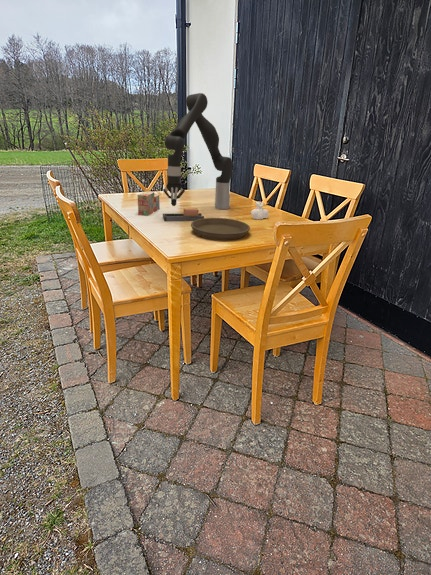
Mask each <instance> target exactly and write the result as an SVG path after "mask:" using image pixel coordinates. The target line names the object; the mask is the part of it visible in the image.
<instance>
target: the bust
mask: <svg viewBox="0 0 431 575" xmlns="http://www.w3.org/2000/svg"><path fill="white" fill-rule="evenodd" d="M254 205H255V208H254V209H252V210H251V211H250V214H251V217H252V219H254V220H258V219H259V220H264V219H263V218H266V219H268V217H269V214H270V213H269V209H267V208H263V206H264V205H265V203H264V202H262V201H260V200H259V201H256V202H255V203H254Z"/></svg>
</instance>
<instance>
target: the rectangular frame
mask: <svg viewBox="0 0 431 575" xmlns="http://www.w3.org/2000/svg"><path fill="white" fill-rule="evenodd" d="M204 218H205V216H204V215H202V213H200V212H198V216H184V212H182V213H179V212H178V213H173V212H172V213H162V220H163V221H164V222H193V221H195V220H198V219H204Z"/></svg>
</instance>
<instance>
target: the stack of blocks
mask: <svg viewBox="0 0 431 575" xmlns="http://www.w3.org/2000/svg"><path fill="white" fill-rule="evenodd" d="M160 201H161V200H160V194H155V192H154V191H144V192H141V193H139V194H137V215H138V216H146V217H147V216H150V215H152V214H154V213H155V212H157V211H159V210H160ZM153 212H154V213H153Z"/></svg>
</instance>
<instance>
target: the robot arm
mask: <svg viewBox="0 0 431 575" xmlns="http://www.w3.org/2000/svg"><path fill="white" fill-rule="evenodd" d="M208 101H209V100H208V97H207V96H206V95H205V93H202V92H198V93H193V94H192V93H191V94H189V95H187V96H186V98H185V105H186V107H187V110H188V112H187V113H186V114H185V115H183V117H182V118H181V119H179V121H178V122H177V124H176V126H175V128H174V129H172V130H171V132H169V133H168V135H166V137H165V139H164V147H165V149H168V150H172V151H174V152H173V153H172V154H168V156H167V170H166V172H167V173H166V174H167V175H166V176H167V178H166V180H167V181H166V186H165V187H164V188H163V189H162V191H163V193H164V194H165V195H166V197H167V198H168V199H170V205H171V206H172V207H175V206H177V200H179V199H180V198H181V197H182V196H183V194H185V191H186V190H185V189H184V188H182V185H181V184H182V183H181V182H182V181H181V180H182V178H181V177H182V169H181V159H182V155H183V151H184V147H185V141H184V139H185V138H186V137H187V135H188V133H189V131H190V130H191V129H192V127H193V125H194V124H196V126H197V128H198V130H199V132H200V133H201V137H202V139H203V141H204V143H205V145H206V148H207V150H208V152H209V154H210V158H211V160H212V163H213V167H214V168H215V170H217V171H218V172H221V174H220V175H219V176H217V177H216V178H215V199H214V201H215V202H214V208H215V209H216V210H217V209H218V210H228V209H229V210H230V201H231V200H230V199H231V194H230V188H231V186H230V185H231V178H232V174H233V159H232V158H231V157H230V156H229V157H228V156H223V155H222V154H221V152H220V149H219V145H220V137H219V134H218V132H217V129H216V127H215V126H214V124H213V123H211V121H209V120H208V118H206V117H205V116H204V114H203V113H204V111H206V109H207V107H208V105H209V103H208ZM169 193H170V194H169Z"/></svg>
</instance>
